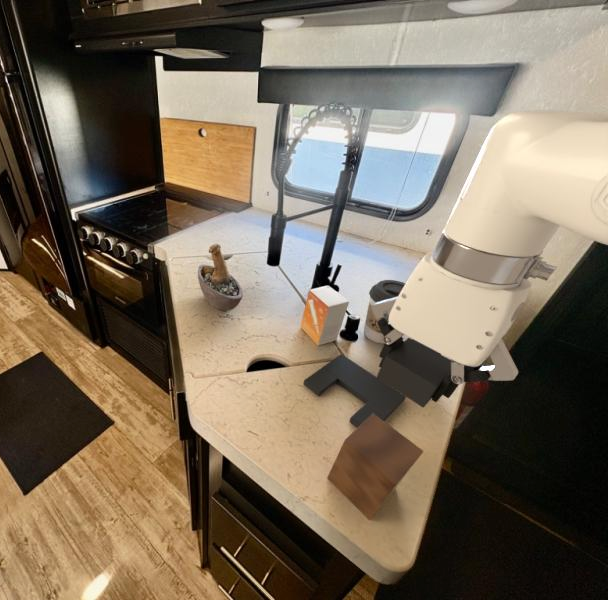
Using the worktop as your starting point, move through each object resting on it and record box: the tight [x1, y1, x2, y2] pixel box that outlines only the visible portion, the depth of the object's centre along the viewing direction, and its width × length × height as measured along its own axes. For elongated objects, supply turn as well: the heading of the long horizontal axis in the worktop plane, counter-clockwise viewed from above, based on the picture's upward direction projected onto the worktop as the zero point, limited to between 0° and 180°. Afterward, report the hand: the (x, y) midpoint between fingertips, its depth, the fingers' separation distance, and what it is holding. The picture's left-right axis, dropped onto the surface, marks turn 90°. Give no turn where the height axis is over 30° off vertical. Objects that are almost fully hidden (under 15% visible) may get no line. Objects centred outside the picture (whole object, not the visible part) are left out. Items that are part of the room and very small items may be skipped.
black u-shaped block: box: [303, 353, 407, 429], centre depth 69 cm, size 16×14×2 cm
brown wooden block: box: [326, 413, 424, 521], centre depth 50 cm, size 8×8×12 cm
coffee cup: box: [363, 279, 406, 345], centre depth 81 cm, size 11×11×15 cm
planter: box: [197, 243, 244, 312], centre depth 91 cm, size 15×17×20 cm
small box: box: [300, 285, 350, 346], centre depth 82 cm, size 8×6×13 cm
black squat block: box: [376, 337, 451, 408], centre depth 40 cm, size 6×6×4 cm
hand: (411, 377), depth 41 cm, fingers closed on black squat block, 6 cm apart
